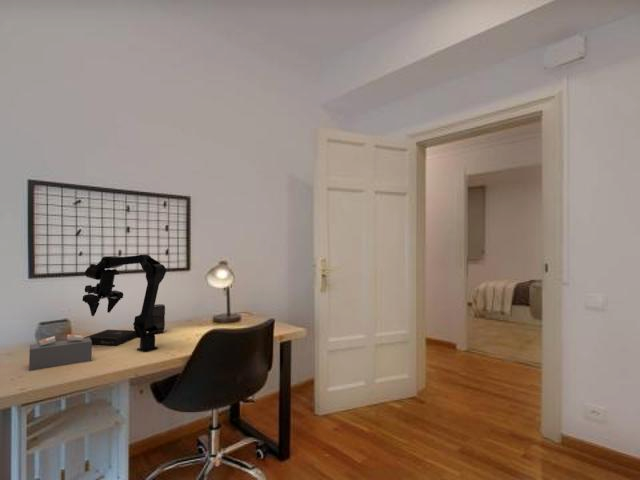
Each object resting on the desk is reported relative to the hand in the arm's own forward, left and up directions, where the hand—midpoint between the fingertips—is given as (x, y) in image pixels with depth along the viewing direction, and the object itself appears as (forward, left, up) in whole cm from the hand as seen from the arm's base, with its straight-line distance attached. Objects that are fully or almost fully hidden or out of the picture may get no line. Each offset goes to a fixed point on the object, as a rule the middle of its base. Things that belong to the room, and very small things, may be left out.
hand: (100, 314), depth 171 cm
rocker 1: (-11, +26, -5) cm, 29 cm away
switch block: (-13, +22, -15) cm, 30 cm away
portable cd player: (+3, -8, -16) cm, 18 cm away
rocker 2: (-14, +18, -5) cm, 24 cm away
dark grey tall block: (-1, -30, -15) cm, 33 cm away
